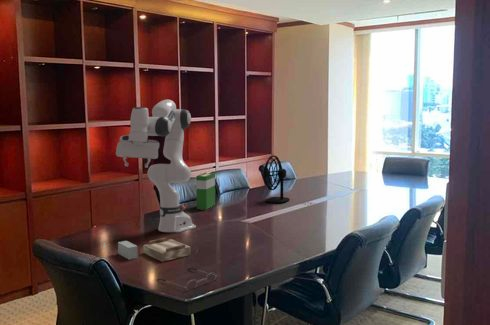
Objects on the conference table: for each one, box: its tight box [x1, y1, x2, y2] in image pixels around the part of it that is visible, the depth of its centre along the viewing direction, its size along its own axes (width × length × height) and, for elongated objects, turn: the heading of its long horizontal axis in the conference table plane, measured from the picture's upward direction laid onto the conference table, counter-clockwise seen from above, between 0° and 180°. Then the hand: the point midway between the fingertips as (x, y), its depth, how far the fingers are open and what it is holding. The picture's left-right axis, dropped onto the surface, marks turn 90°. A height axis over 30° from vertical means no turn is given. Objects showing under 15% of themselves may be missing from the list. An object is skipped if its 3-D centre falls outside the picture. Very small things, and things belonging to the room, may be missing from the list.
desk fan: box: [262, 154, 291, 204], centre depth 361 cm, size 27×18×35 cm, turn 150°
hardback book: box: [195, 172, 216, 211], centre depth 340 cm, size 18×7×24 cm, turn 164°
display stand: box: [142, 237, 192, 263], centre depth 234 cm, size 16×18×6 cm
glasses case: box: [117, 240, 139, 261], centre depth 231 cm, size 4×12×6 cm, turn 39°
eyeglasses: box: [156, 267, 218, 291], centre depth 199 cm, size 18×19×4 cm
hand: (136, 166), depth 232 cm, fingers open, 8 cm apart
